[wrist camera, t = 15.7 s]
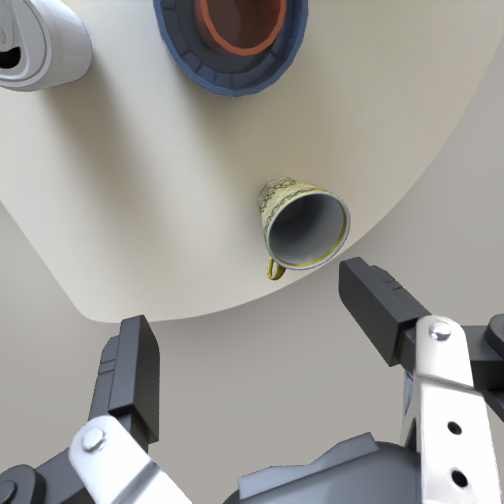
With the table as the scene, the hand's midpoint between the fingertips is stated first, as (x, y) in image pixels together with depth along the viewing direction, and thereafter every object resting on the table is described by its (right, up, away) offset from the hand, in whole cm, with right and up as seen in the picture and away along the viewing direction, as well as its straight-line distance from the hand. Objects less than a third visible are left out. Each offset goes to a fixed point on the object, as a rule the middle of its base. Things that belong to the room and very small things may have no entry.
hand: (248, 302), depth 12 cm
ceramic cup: (+3, +8, +30) cm, 32 cm away
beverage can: (-18, +21, +16) cm, 32 cm away
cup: (-2, +25, +17) cm, 30 cm away
